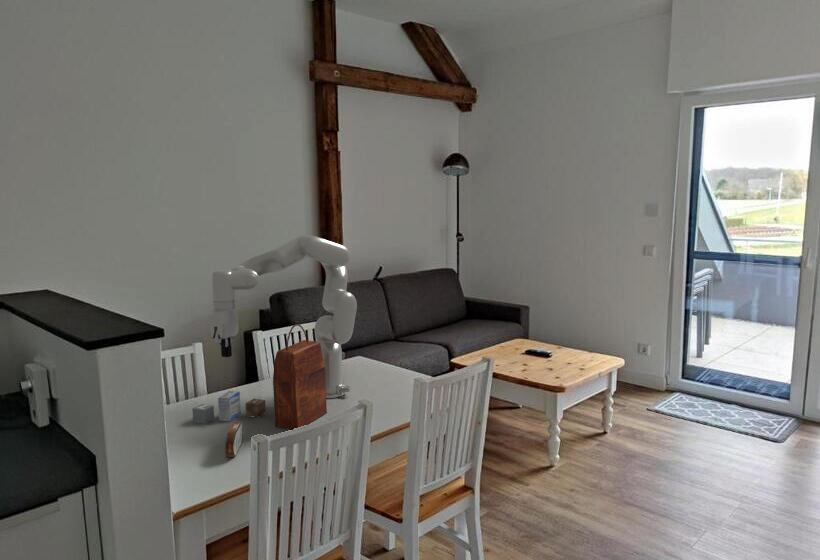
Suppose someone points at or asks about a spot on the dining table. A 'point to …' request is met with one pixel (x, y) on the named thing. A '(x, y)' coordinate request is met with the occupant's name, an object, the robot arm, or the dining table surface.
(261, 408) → the walnut block
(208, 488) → the dining table surface
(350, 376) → the dining table surface
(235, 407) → the medicine box
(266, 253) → the robot arm
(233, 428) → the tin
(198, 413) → the slate-grey block
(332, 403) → the dining table surface
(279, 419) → the handbag
